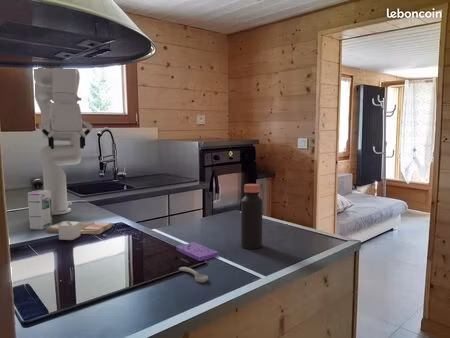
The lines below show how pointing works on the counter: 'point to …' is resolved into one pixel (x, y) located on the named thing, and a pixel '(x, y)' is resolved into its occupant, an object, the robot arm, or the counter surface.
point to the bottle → (251, 217)
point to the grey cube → (69, 230)
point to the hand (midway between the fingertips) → (67, 148)
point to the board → (84, 227)
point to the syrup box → (40, 209)
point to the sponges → (197, 251)
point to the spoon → (198, 277)
